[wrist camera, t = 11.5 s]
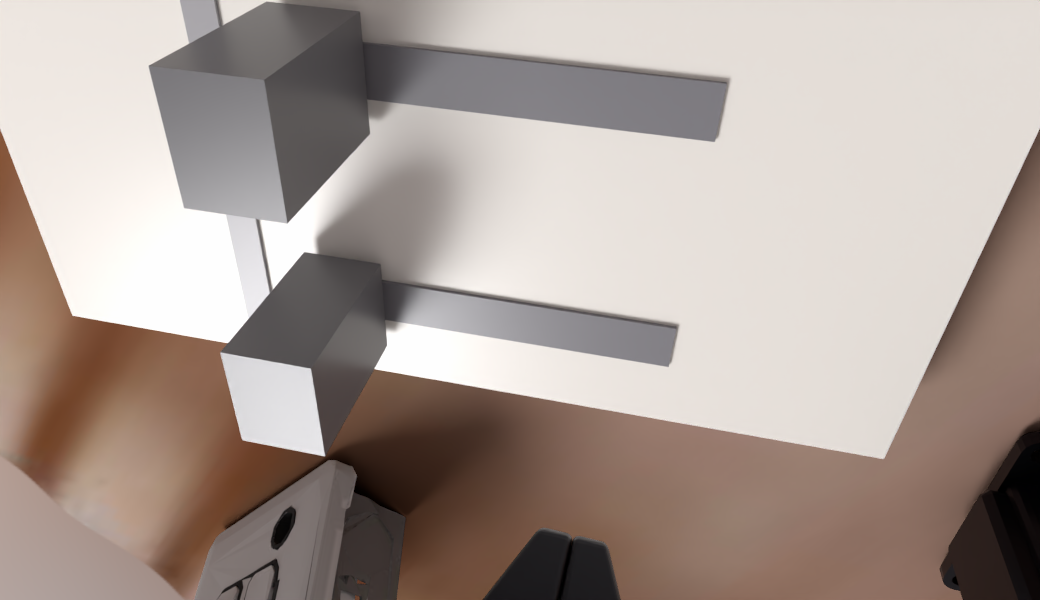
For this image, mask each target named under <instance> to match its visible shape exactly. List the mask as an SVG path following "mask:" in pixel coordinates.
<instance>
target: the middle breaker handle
mask: <svg viewBox="0 0 1040 600" xmlns="http://www.w3.org/2000/svg"><path fill="white" fill-rule="evenodd" d="M149 70H150V74H151V78H152V82H153V86H154V90H155V94H156V98H157V102H158V106H159V110H160V114H161V118H162V122H163V126H164V130H165V134H166V138H167V142H168V146H169V150H170V154H171V158H172V162H173V166H174V170H175V174H176V178H177V182H178V186H179V190H180V194H181V198H182V202H183V206H184V208H186V209H193V210H200V211H206V212H213V213H220V214H226V215H233V216H240V217H246V218H253V219H260V220H266V221H273V222H280V223H286V224H288V223H289V221H290V220H291V219H292V218H293V217H294V216H295V215H296V214H297V213H298V212H299V211H300V210H301V208H302V207H303V206H304V205H305V204H306V203H307V202H308V201H309V200H310V199H311V198H312V196H313V195H314V194H315V193H316V192H317V191H318V190H319V189H320V188H321V187H322V186H323V185H324V183H325V182H326V181H327V180H328V179H329V178H330V177H331V176H332V175H333V174H334V173H335V172H336V170H337V169H338V168H339V167H340V166H341V165H342V164H343V163H344V162H345V161H346V160H347V158H348V157H349V156H350V155H351V154H352V153H353V152H354V151H355V150H356V149H357V148H358V147H359V145H360V144H361V143H362V142H363V141H364V140H365V139H366V138H367V137H368V136H369V135H370V127H369V115H368V103H367V90H366V78H365V66H364V53H363V41H362V29H361V17H360V11H352V10H342V9H333V8H323V7H314V6H304V5H295V4H285V3H276V2H265V3H263V4H261V5H259V6H257V7H256V8H254V9H252V10H250V11H248V12H246V13H244V14H243V15H241V16H239V17H237V18H235V19H233V20H232V21H230V22H228V23H226V24H224V25H222V26H221V27H219V28H217V29H215V30H213V31H211V32H210V33H208V34H206V35H204V36H202V37H200V38H199V39H197V40H195V41H193V42H191V43H189V44H188V45H186V46H184V47H182V48H180V49H178V50H177V51H175V52H173V53H171V54H169V55H167V56H165V57H164V58H162V59H160V60H158V61H156V62H154V63H153V64H151V65H149Z"/></svg>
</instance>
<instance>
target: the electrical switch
mask: <svg viewBox="0 0 1040 600" xmlns="http://www.w3.org/2000/svg"><path fill="white" fill-rule="evenodd" d="M356 478H357V475H356V473H355V471H354V469H353V467H352V466H349V465H346V464H344V463H341V462H339V461H336V460H328V461H327V462H325V463H324V464H322V465H321V466H319V467H318V468H316V469H315V470H313V471H312V472H310V473H309V474H308V475H306V476H305V477H303V478H302V479H300V480H299V481H297V482H296V483H294V484H293V485H291V486H290V487H288V488H287V489H285V490H284V491H282V492H281V493H279V494H278V495H277V496H275V497H274V498H272V499H271V500H269V501H268V502H266V503H265V504H263V505H262V506H260V507H259V508H257V509H256V510H254V511H253V512H251V513H250V514H249V515H247V516H246V517H244V518H243V519H241V520H240V521H238V522H237V523H235V524H234V525H232V526H231V527H229V528H228V529H226V530H225V531H223V532H222V533H221V534H220V535H219V536H218V537H217V538H216V539H215V541H214V543H213V545H212V547H211V548H210V550H209V553H208V556H207V559H206V563H205V566H204V569H203V572H202V576H201V579H200V582H199V585H198V589H197V592H196V596H195V599H194V600H355V595H357V596H359V597H360V600H396V599H397V590H398V581H399V572H400V563H401V555H402V546H403V537H404V528H405V519H406V517H403V515H400V514H398V513H396V512H393V511H391V510H388V509H386V508H384V507H381V506H379V505H378V504H376V503H375V502H373V501H372V500H371V499H369V498H367V497H364V496H361V495H358V494H356V493H355V492H353V491H354V487H355V482H356ZM357 579H358V580H360V581H362V582H364V583H366V584H365V585H364V584H357Z"/></svg>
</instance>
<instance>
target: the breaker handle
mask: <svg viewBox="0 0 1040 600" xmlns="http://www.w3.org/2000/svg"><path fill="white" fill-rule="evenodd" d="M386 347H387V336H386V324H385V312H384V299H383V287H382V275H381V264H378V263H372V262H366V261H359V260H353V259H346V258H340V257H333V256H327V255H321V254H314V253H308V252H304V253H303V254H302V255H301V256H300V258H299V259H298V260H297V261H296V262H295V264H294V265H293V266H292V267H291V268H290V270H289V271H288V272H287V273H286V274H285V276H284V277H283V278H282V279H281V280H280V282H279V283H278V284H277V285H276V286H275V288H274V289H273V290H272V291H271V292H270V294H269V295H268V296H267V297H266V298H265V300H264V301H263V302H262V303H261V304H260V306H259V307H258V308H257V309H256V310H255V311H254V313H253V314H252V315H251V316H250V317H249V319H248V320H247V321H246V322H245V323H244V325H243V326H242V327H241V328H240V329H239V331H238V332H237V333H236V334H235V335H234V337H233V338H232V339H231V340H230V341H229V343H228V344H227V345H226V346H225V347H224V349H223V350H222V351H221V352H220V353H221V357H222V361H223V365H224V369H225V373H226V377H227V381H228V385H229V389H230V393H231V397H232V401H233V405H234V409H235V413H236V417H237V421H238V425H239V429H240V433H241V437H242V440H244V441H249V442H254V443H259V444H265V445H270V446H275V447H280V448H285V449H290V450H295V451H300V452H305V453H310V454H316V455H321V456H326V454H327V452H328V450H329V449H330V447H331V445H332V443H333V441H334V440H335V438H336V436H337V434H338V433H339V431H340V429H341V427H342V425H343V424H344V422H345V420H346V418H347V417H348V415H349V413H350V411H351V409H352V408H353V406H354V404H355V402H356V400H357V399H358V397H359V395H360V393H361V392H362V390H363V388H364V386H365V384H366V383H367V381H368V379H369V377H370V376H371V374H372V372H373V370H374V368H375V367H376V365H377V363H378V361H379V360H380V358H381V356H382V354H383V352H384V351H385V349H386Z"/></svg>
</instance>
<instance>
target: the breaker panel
mask: <svg viewBox="0 0 1040 600" xmlns="http://www.w3.org/2000/svg"><path fill="white" fill-rule="evenodd" d="M265 2H276V3H285V4H295V5H304V6H314V7H323V8H333V9H342V10H352V11H360V17H361V29H362V41H363V53H364V66H365V78H366V90H367V103H368V115H369V127H370V135H369V136H368V137H367V138H366V139H365V140H364V141H363V142H362V143H361V144H360V145H359V147H358V148H357V149H356V150H355V151H354V152H353V153H352V154H351V155H350V156H349V157H348V158H347V160H346V161H345V162H344V163H343V164H342V165H341V166H340V167H339V168H338V169H337V170H336V172H335V173H334V174H333V175H332V176H331V177H330V178H329V179H328V180H327V181H326V182H325V183H324V185H323V186H322V187H321V188H320V189H319V190H318V191H317V192H316V193H315V194H314V195H313V196H312V198H311V199H310V200H309V201H308V202H307V203H306V204H305V205H304V206H303V207H302V208H301V210H300V211H299V212H298V213H297V214H296V215H295V216H294V217H293V218H292V219H291V220H290V221H289V223H288V224H286V223H280V222H273V221H266V220H260V219H253V218H246V217H240V216H233V215H226V214H220V213H213V212H206V211H200V210H193V209H186V208H184V206H183V202H182V198H181V194H180V190H179V186H178V182H177V178H176V174H175V170H174V166H173V162H172V158H171V154H170V150H169V146H168V142H167V138H166V134H165V130H164V126H163V122H162V118H161V114H160V110H159V106H158V102H157V98H156V94H155V90H154V86H153V82H152V78H151V74H150V70H149V65H151V64H153V63H154V62H156V61H158V60H160V59H162V58H164V57H165V56H167V55H169V54H171V53H173V52H175V51H177V50H178V49H180V48H182V47H184V46H186V45H188V44H189V43H191V42H193V41H195V40H197V39H199V38H200V37H202V36H204V35H206V34H208V33H210V32H211V31H213V30H215V29H217V28H219V27H221V26H222V25H224V24H226V23H228V22H230V21H232V20H233V19H235V18H237V17H239V16H241V15H243V14H244V13H246V12H248V11H250V10H252V9H254V8H256V7H257V6H259V5H261V4H263V3H265ZM0 129H1V132H2V134H3V137H4V140H5V142H6V145H7V147H8V150H9V153H10V155H11V158H12V160H13V163H14V165H15V168H16V171H17V173H18V176H19V178H20V181H21V184H22V186H23V189H24V191H25V194H26V197H27V199H28V202H29V204H30V207H31V209H32V212H33V215H34V217H35V220H36V222H37V225H38V228H39V230H40V233H41V235H42V238H43V241H44V243H45V246H46V248H47V251H48V253H49V256H50V259H51V261H52V264H53V266H54V269H55V272H56V274H57V277H58V279H59V282H60V285H61V287H62V290H63V292H64V295H65V297H66V300H67V303H68V305H69V308H70V310H71V313H72V316H78V317H83V318H89V319H95V320H100V321H106V322H112V323H117V324H123V325H129V326H134V327H140V328H146V329H151V330H157V331H163V332H168V333H174V334H180V335H185V336H191V337H197V338H202V339H208V340H213V341H219V342H225V343H229V341H230V340H231V339H232V338H233V337H234V335H235V334H236V333H237V332H238V331H239V329H240V328H241V327H242V326H243V325H244V323H245V322H246V321H247V320H248V319H249V317H250V316H251V315H252V314H253V313H254V311H255V310H256V309H257V308H258V307H259V306H260V304H261V303H262V302H263V301H264V300H265V298H266V297H267V296H268V295H269V294H270V292H271V291H272V290H273V289H274V288H275V286H276V285H277V284H278V283H279V282H280V280H281V279H282V278H283V277H284V276H285V274H286V273H287V272H288V271H289V270H290V268H291V267H292V266H293V265H294V264H295V262H296V261H297V260H298V259H299V258H300V256H301V255H302V254H303V253H304V252H308V253H314V254H321V255H327V256H333V257H340V258H346V259H353V260H359V261H366V262H372V263H378V264H381V275H382V287H383V299H384V312H385V324H386V336H387V347H386V349H385V351H384V352H383V354H382V356H381V358H380V360H379V361H378V363H377V365H376V367H375V368H374V369H378V370H383V371H389V372H395V373H400V374H406V375H412V376H417V377H423V378H428V379H434V380H440V381H445V382H451V383H457V384H462V385H468V386H474V387H479V388H485V389H491V390H496V391H502V392H508V393H513V394H519V395H525V396H530V397H536V398H542V399H547V400H553V401H559V402H564V403H570V404H576V405H581V406H587V407H593V408H598V409H604V410H610V411H615V412H621V413H626V414H632V415H638V416H643V417H649V418H655V419H660V420H666V421H672V422H677V423H683V424H689V425H694V426H700V427H706V428H711V429H717V430H723V431H728V432H734V433H740V434H745V435H751V436H757V437H762V438H768V439H774V440H779V441H785V442H791V443H796V444H802V445H808V446H813V447H819V448H825V449H830V450H836V451H841V452H847V453H853V454H858V455H864V456H870V457H875V458H881V459H884V458H885V455H886V453H887V451H888V449H889V447H890V445H891V443H892V441H893V439H894V436H895V434H896V432H897V430H898V428H899V426H900V424H901V422H902V419H903V417H904V415H905V413H906V411H907V409H908V407H909V405H910V403H911V400H912V398H913V396H914V394H915V392H916V390H917V388H918V386H919V383H920V381H921V379H922V377H923V375H924V373H925V371H926V369H927V367H928V364H929V362H930V360H931V358H932V356H933V354H934V352H935V350H936V347H937V345H938V343H939V341H940V339H941V337H942V335H943V333H944V330H945V328H946V326H947V324H948V322H949V320H950V318H951V316H952V314H953V311H954V309H955V307H956V305H957V303H958V301H959V299H960V297H961V294H962V292H963V290H964V288H965V286H966V284H967V282H968V280H969V278H970V275H971V273H972V271H973V269H974V267H975V265H976V263H977V261H978V258H979V256H980V254H981V252H982V250H983V248H984V246H985V244H986V242H987V239H988V237H989V235H990V233H991V231H992V229H993V227H994V225H995V222H996V220H997V218H998V216H999V214H1000V212H1001V210H1002V208H1003V206H1004V203H1005V201H1006V199H1007V197H1008V195H1009V193H1010V191H1011V189H1012V186H1013V184H1014V182H1015V180H1016V178H1017V176H1018V174H1019V172H1020V170H1021V167H1022V165H1023V163H1024V161H1025V159H1026V157H1027V155H1028V153H1029V150H1030V148H1031V146H1032V144H1033V142H1034V140H1035V138H1036V136H1037V134H1038V131H1039V129H1040V0H0Z"/></svg>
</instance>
